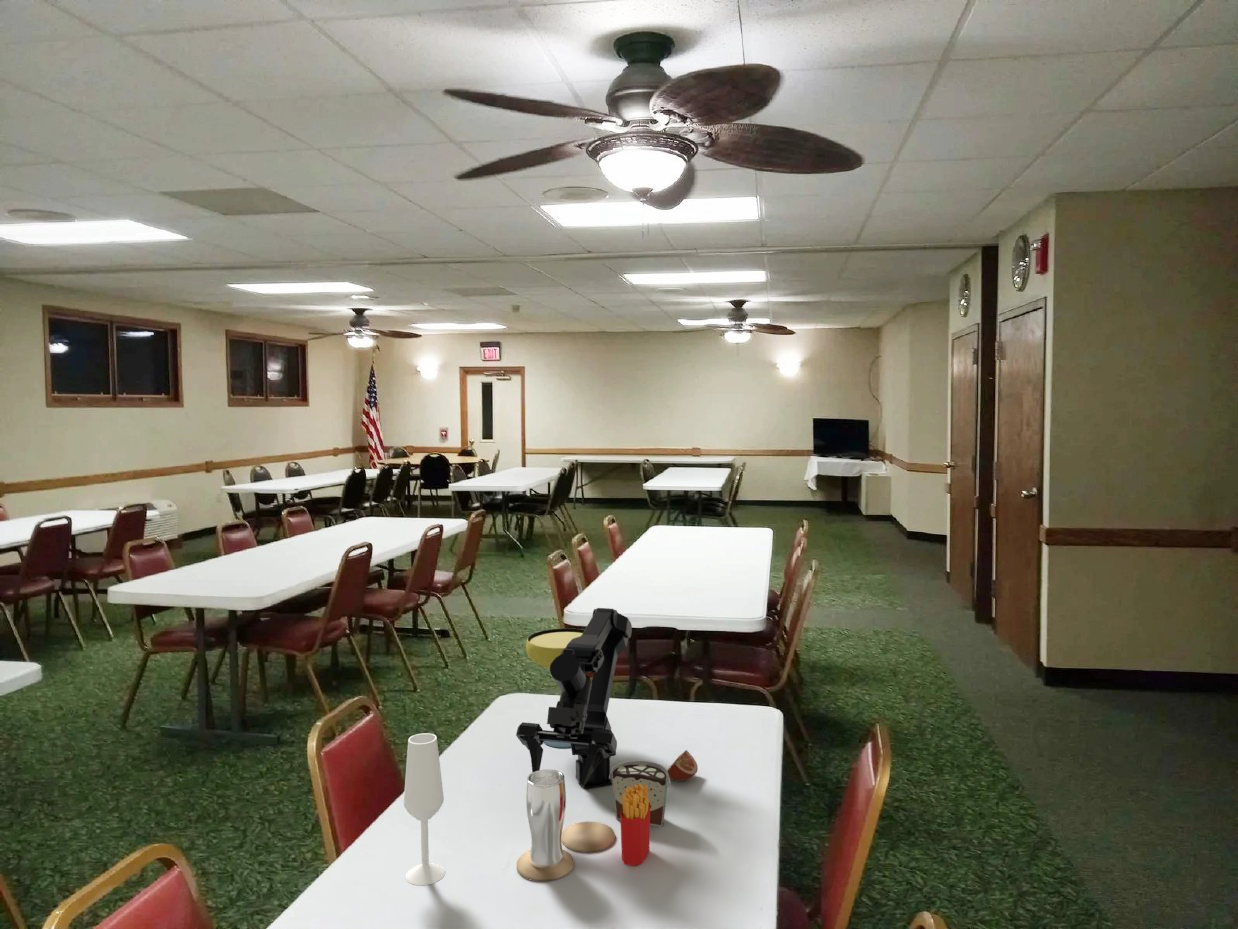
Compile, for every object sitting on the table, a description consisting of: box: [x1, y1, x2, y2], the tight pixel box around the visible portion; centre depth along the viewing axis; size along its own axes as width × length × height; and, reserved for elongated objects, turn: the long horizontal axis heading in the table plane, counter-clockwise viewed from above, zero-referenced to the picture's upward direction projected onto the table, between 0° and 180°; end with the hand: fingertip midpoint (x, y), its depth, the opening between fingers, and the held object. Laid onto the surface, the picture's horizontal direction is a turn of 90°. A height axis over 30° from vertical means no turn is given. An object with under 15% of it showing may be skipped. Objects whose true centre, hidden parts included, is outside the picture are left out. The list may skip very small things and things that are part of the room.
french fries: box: [619, 784, 651, 867], centre depth 148 cm, size 8×4×12 cm, turn 157°
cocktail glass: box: [525, 627, 585, 749], centre depth 200 cm, size 18×18×25 cm
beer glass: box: [525, 769, 567, 869], centre depth 146 cm, size 7×7×15 cm
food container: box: [609, 760, 672, 828], centre depth 163 cm, size 12×6×10 cm, turn 71°
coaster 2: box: [562, 821, 616, 853], centre depth 155 cm, size 10×10×1 cm
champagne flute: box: [403, 732, 446, 886], centre depth 142 cm, size 7×7×24 cm
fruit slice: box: [666, 749, 698, 782], centre depth 179 cm, size 8×7×5 cm
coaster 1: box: [516, 849, 575, 882], centre depth 146 cm, size 10×10×1 cm
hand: (558, 783), depth 154 cm, fingers open, 9 cm apart
